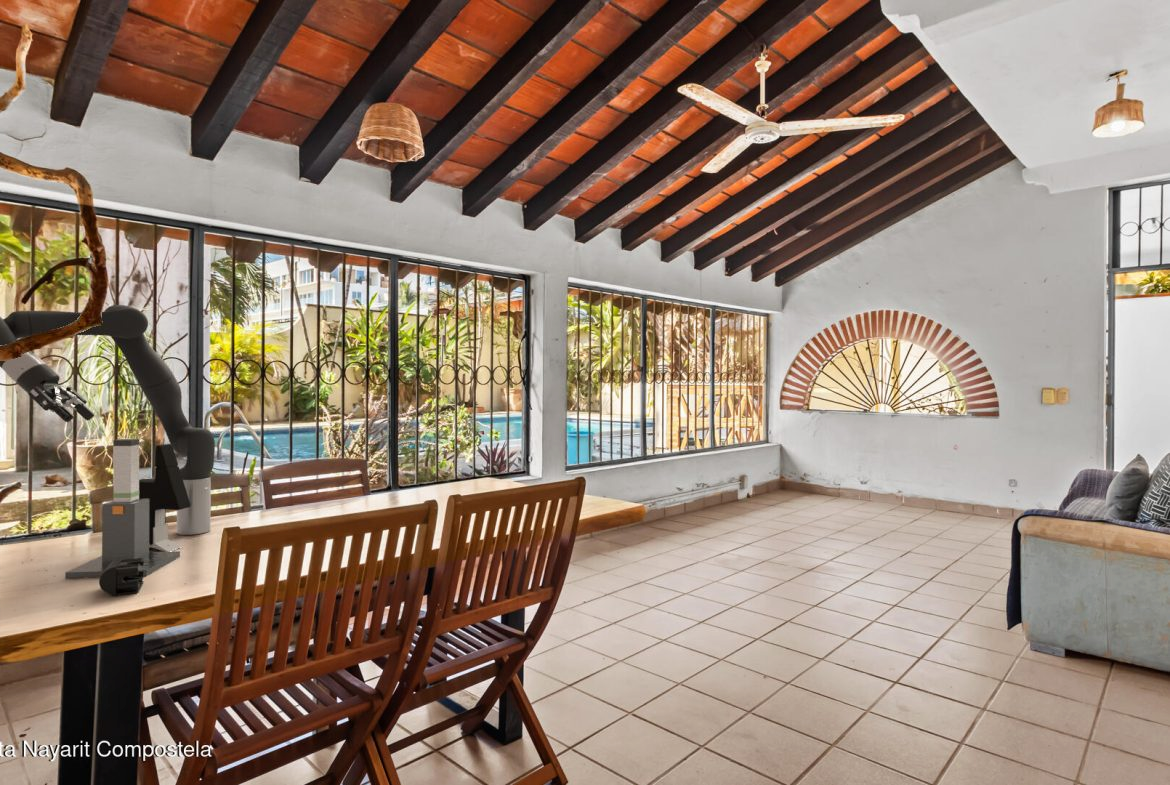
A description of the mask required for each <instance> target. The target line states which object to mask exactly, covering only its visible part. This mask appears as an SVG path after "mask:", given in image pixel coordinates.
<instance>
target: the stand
mask: <svg viewBox="0 0 1170 785" xmlns="http://www.w3.org/2000/svg"><path fill="white" fill-rule="evenodd" d="M101 506H102V507H101V510H102V511H101V512H102V513H101V515H102V516H101V524H102V525H101V527H102V528H101V529H102V531H101V533H102V534H101V547H102V548H101V556H98V557H96V558H94V559H91V560H89V561H88V562H86V563H83V564H81V565H78V566H77V567H73V568H72V569H70V570H67V571H66V572H65V573H64V574H65V576H64V577H65V578H69V579H86V578H85V577H101V575H102V574H103V572H104V571H105V570H106V568H107V567H108V566H109V564H110V563H111V562H112V561H113V560H115V559H117V558H119V557H124V560H126V559H137V558H144V565H143V566H140V567H139V568H138V571H143V570H144V577H147V575H148V576H149V575H151V574H153V573H155V572H156V571H158V570H159V568H160V567H161V568H163V567H165V566H166V564H167V565H168V564H170V563H172V562H174V561H175V560H177V559H179V558H181V551H178V550H175V551H172V552H164V551H150V547H149V499H139V501H136V502H133V503H114V500H111V501H109V502H108V501H107V502H105V503H102V505H101ZM178 557H179V558H178ZM176 558H177V559H176ZM173 560H174V561H173ZM171 561H172V562H171ZM164 565H165V566H164ZM162 566H163V567H162ZM161 568H160V569H161ZM157 569H158V570H157ZM155 570H156V571H155ZM154 571H155V572H154ZM152 572H153V573H152Z"/></svg>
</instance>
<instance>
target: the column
mask: <svg viewBox="0 0 1170 785" xmlns="http://www.w3.org/2000/svg"><path fill="white" fill-rule="evenodd" d="M140 440H141V439H140V438H119V439H113V494H112V497H113V501H114V503H133V502H136V501H139V480H140Z"/></svg>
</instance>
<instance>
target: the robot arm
mask: <svg viewBox="0 0 1170 785" xmlns="http://www.w3.org/2000/svg"><path fill="white" fill-rule="evenodd" d="M101 312H102V321H103V325H101V326H96V327H92V328H90V329H88V330H86V331H84V332H81V333H78V334H76V335H74V337H75V336H105V337H106V336H107V337H110V338H111V340H112V341H114V343H115V344H116V345H117V347H118V348H119V349H118V350H120V351H121V353H122V355H123V356H124V358H125V360H126V362H127V365H128V366H129V368H130V370H131V372H132V374H133V376H134V377H135V379H136V381H137V384H138V386H139V387H140V389H141V391H142V392H143V394H144V396H145V398H146V399H147V400H148V402H149V403H150V405H151V407H152V409H153V411H154V412H155V414H156V416H157V418H158V419H159V421H160V423H161V425H162V427H163V429H164V432H165V434H166V437H167V439H168V442H169V444H171V445H172V446H173V449H174V453H175V452H176V453H177V454H178V455H180V456H183V457H186V462H185V465H184V466H183V467H181V468H179V469H180V472H181V475H182V479H183V482H184V485H185V488H186V491H187V495H188V498H189V501H190V504H191V506H190V507H188V508H184V509H181V510H176V534H177V535H181V536H185V535H186V536H189V535H192V536H193V535H198V534H199V535H200V534H205V533H208V532H210V531H211V516H212V515H211V509H212V508H211V503H212V502H211V500H212V499H211V498H212V497H211V496H212V495H211V493H212V492H211V490H212V486H211V483H212V482H211V480H212V478H211V477H212V471H213V469H214V465H215V452H216V451H215V448H216V441H215V436H214V435H213V434H214V433H213V432H212V431H210V430H209V429H207V428H204V427H192V425H191V424H190V422H189V421H188V420H187V418H186V416H185V414H184V411H183V408H182V406H183V405H182V397H183V396H182V388H181V386H180V384H179V382H178V381H177V378H176V376H175V375H174V373H173V371H172V369H171V368H170V367H169V365H167V363H166V362H165V361H164V360H163V358H162V357H161V356H160V355H159V354H158V353H157V352H156V351H155V350H154V349H153V347H152V346H151V345H150V343H149V342H148V339H147V337H146V336H145V333H146V331H147V330H148V328H149V320H148V318H147V316H146V314H145V313H144V312H143V311H141V310H140V309H139V308H136V307H133V306H128V305H125V304H112V305H110V306H109V307H107V308H106V309H105V310H104V311H101ZM81 313H83V312H81V311H80V312H78V311H76V312H75V311H60V310H18V311H16V310H15V311H12V312H11V313H9V314H8V315H7V316H6V317H5V318H2V316H0V345H5V344H9V343H12V342H14V341H17V340H18V339H25V338H24V337H27V336H30V335H33V334H37V333H40V332H44V331H48V330H52V329H57V328H60V327H63V326H66V325H68V324H70V323H72V322H74V321H75V320H77V318H78V317H79V316H80V314H81ZM0 368H1V369H2V370H3V371H4V372H5V374H6V375H7V376H8V377H9V378H10V379H11V380H13V382H14V383H16V384H17V385H18V386H19V387H20V388H21V389H22V390H23V391H24V392H25V393H27V394H28V396H29V397H30V398H31V399H32V400H33V401H34V402H35V403H37V404H38V406H40V407H41V408H42V409H43V410H44V411H46V412H48V411H50V412H52V413H55V414H56V415H57V416H58V417H59V418H60V419H62V420H63V421H64V422H65V423H69V422H71V421H72V420H73V419H74V418H75V415H74V414H73V413H72V412H71V411H70V410H69V409H68V408H70V409H73V410H74V411H75V412H76V413H78V414H79V416H81V417H82V418H83V419H84V420H85V421H91V420H92V418H94V417H95V413H94V412H92V410H90V409H89V408H88V407H87V406H86V404H87V403H88V401H87V400H86V399H85V398H84V397H83V396H82V395H80V394H79V393H78V392H77V391H76V390H75V389H74V388H72V386H69V385H68V386H66V388H65V387H63V386H61V385H60V384H59V381H60V380H61V378H60V377H61V376H60V375H59V374H58V373H57V372H55V371H54V370H53V369H52V368H51V367H50V366H49V365H48V364H47V363H46V362H44V360H42V358H40V357H39V356H37V355H36V354H35V353H33V352H32V351H31V350H30V351H29V352H27V353H24V354H23V355H22V356H21V357H18V358H15V359H10V360H7V361H0ZM176 453H175V454H176Z"/></svg>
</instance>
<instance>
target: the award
mask: <svg viewBox="0 0 1170 785" xmlns="http://www.w3.org/2000/svg"><path fill="white" fill-rule="evenodd" d="M154 458H155V461H154V462H155V464H154V467H155V468H154V479H152V478H150V479H149V478H142V479H141V478H140V479H139V499H149V548H152V549H156V550H159V551H160V552H170V551H172V552H174V551H173V550H175V549H178V548H180V547H182V546H181V545H179V544H177V543H176V542H174V541H172V540H170V538H169V526H168V523H166V522H167V518H166V516H167V513H166V512H167V511H166V510H169V511H170V510H172V511H177V510H181V509H184V508H188V507H190V506H191V504H190V501H189V498H188V495H187V491H186V488H185V485H184V482H183V479H182V475H181V472H180V469H181V468H180V467H179V462H178V460H177V456H176V453H175V451H174V449H173V446H172V445H171V444H170V443H165V444H158V445H155V457H154ZM178 550H179V549H178ZM175 551H176V550H175Z"/></svg>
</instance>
